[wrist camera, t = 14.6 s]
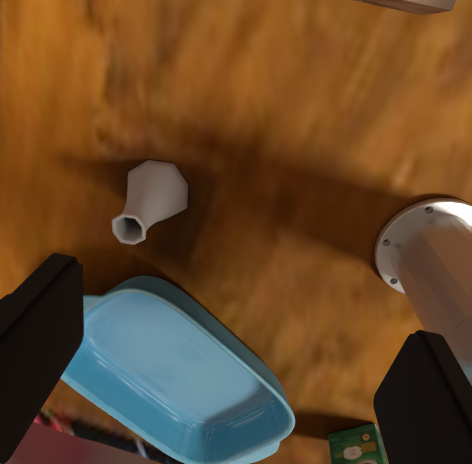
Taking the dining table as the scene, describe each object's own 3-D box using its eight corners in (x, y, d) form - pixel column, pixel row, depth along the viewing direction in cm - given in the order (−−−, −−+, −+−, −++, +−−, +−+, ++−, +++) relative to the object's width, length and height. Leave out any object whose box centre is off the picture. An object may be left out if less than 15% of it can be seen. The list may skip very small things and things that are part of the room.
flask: (118, 164, 41) (76, 199, 32) (180, 153, 40) (153, 186, 31) (139, 221, 44) (106, 267, 35) (196, 213, 43) (177, 258, 34)
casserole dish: (319, 393, 56) (325, 439, 49) (213, 442, 64) (207, 486, 58) (142, 226, 45) (120, 257, 38) (42, 312, 53) (10, 349, 47)
